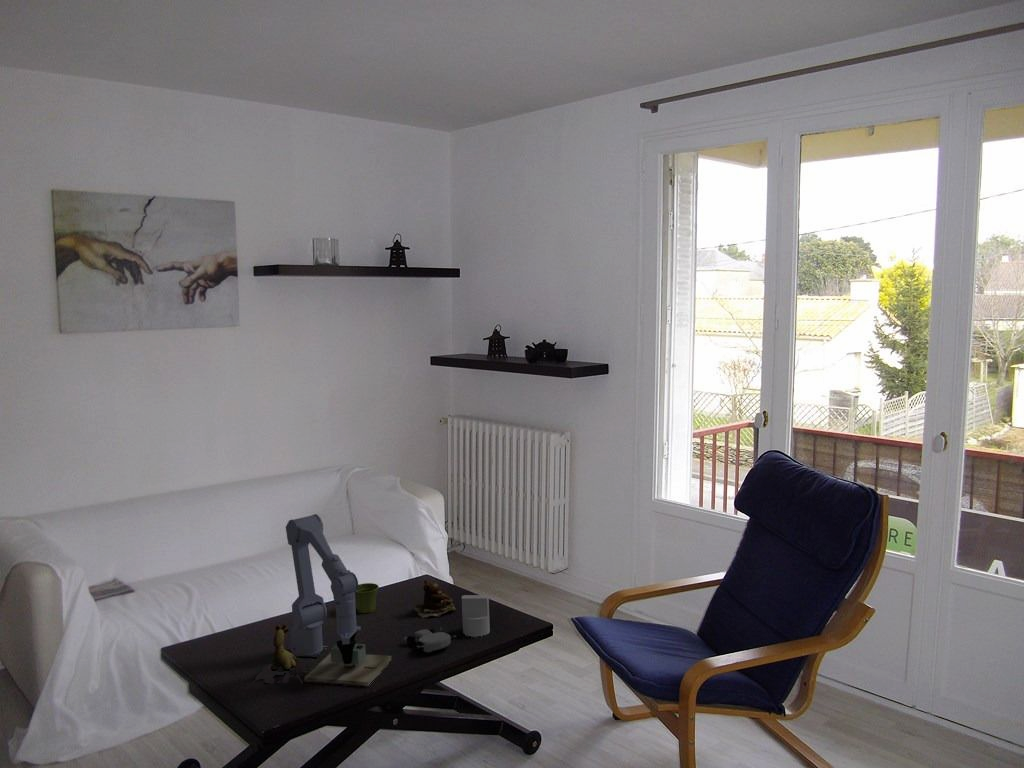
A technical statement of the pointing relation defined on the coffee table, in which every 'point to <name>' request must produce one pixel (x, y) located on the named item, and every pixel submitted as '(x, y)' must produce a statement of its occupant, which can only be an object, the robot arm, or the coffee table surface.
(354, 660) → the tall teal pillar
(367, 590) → the plant pot
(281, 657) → the stuffed giraffe
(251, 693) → the coffee table surface
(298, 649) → the robot arm
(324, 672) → the base
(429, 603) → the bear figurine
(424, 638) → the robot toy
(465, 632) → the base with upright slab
